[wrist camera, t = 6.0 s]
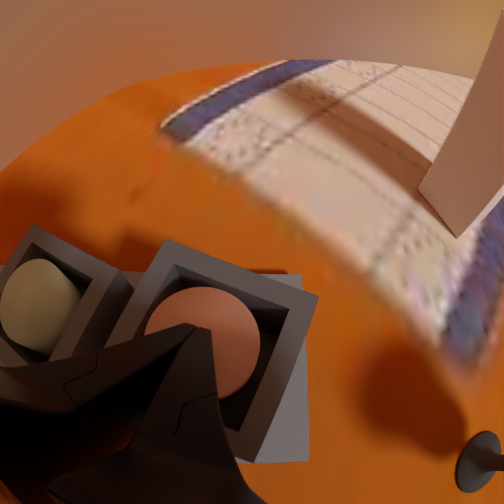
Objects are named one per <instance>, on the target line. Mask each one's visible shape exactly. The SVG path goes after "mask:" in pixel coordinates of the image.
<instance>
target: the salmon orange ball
mask: <svg viewBox="0 0 504 504" xmlns="http://www.w3.org/2000/svg"><path fill="white" fill-rule="evenodd" d="M181 323H189V324H193V325H196V326H197V327H203V328H207V329H210V330H211V331H212V342H213V352H214V362H215V372H216V382H217V391H218V398H219V402H223V401H227V400H230V399H232V398H234V397H236V396H237V395H239V394H240V393H241V392H243V391H244V390H245V388H246V387H247V386H248V385H249V383H250V382H251V380H252V378H253V375H254V372H255V368H256V364H257V360H258V356H259V350H260V335H259V330H258V326H257V324H256V321H255V319H254V317H253V315H252V313H251V312H250V311H249V309H248V308H247V307H246V306H245V305H244V304H243V303H242V302H241V301H240V300H239V299H238V298H236V297H235V296H233V295H232V294H230V293H228V292H225V291H223V290H220V289H216V288H211V287H193V288H188V289H185V290H181V291H179V292H177V293H175V294H173V295H171V296H169V297H168V298H167V299H165V300H164V301H163V302H162V303H161V304H160V305H159V306H158V307H157V308H156V309H155V311H154V312H153V314H152V315H151V317H150V319H149V321H148V323H147V326H146V330H145V335H148V334H151V333H154V332H157V331H160V330H163V329H166V328H169V327H172V326H175V325H178V324H181ZM145 335H144V336H145Z"/></svg>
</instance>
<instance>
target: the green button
mask: <svg viewBox="0 0 504 504" xmlns="http://www.w3.org/2000/svg"><path fill="white" fill-rule="evenodd" d="M84 294H85V293H83V292H82V291H81V290H80V289H79V288H78V287H77V286H76V285H75V284H74V283H73V282H71V281H70V280H69V279H68V278H67V277H66V276H65V275H64V274H63V273H62V272H61V271H60V270H59V269H58V268H57V267H56V266H55V265H54V264H53V263H51V262H50V261H48V260H45V259H34V260H30V261H28V262H26V263H24V264H23V265H21V266H20V267H19V268H17V269H16V270H15V272H14V273H13V274H12V275H11V276H10V278H9V280H8V281H7V283H6V285H5V287H4V290H3V293H2V296H1V300H0V320H1V324H2V327H3V329H4V331H5V333H6V334H7V336H8V337H9V338H10V339H11V340H13V341H14V342H16V343H18V344H20V345H23V346H25V347H27V348H29V349H31V350H34V351H36V352H38V353H40V354H43V355H45V356H48V357H51V355H52V353H53V351H54V349H55V347H56V345H57V343H58V341H59V339H60V337H61V335H62V333H63V331H64V330H65V328H66V326H67V324H68V322H69V320H70V318H71V316H72V315H73V313H74V311H75V309H76V307H77V306H78V304H79V302H80V300H81V299H82V297H83V295H84Z"/></svg>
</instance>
